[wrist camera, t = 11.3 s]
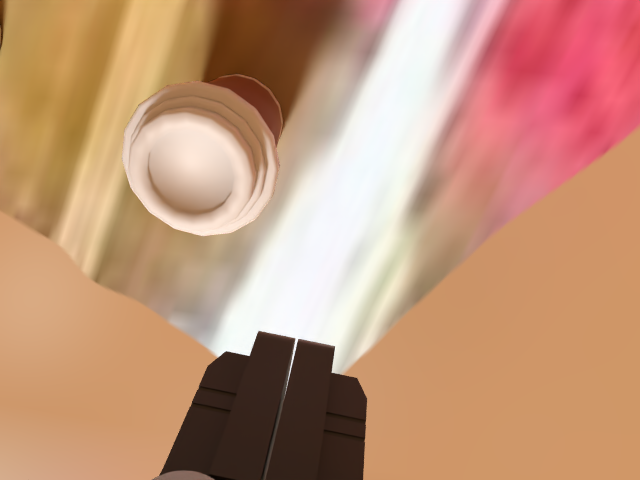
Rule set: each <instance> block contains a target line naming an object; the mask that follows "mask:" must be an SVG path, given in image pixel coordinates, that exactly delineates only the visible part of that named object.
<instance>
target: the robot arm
mask: <svg viewBox="0 0 640 480" xmlns="http://www.w3.org/2000/svg"><path fill="white" fill-rule="evenodd" d="M0 45H1V27H0ZM294 344H295V338H291V337H286V336H281V335H276V334H271V333H266V332H262V331H259V332H258V334H257V336H256V339H255V342H254V345H253V348H252V351H251V354H250V356H246V355H241V354H236V353H231V352H227V351H226V352H225V353H223V354H222V355H221V356H220V357H218V358H217V359H216V360H215V361H213V362H212V363H211V364H210V365H209V366H208V367H207V369H206V371H205V374H204V376H203V378H202V381H201V383H200V385H199V389H198V390H197V392H196V394H195V396H194V399H193V401H192V405H191V407H190V408H189V410H188V412H187V415H186V417H185V419H184V422H183V424H182V426H181V429H180V431H179V433H178V436H177V438H176V440H175V442H174V445H173V447H172V449H171V452H170V454H169V456H168V458H167V461H166V463H165V465H164V468H163V469H162V472H161V473H160V475H159V476H158V477H156V478H154V479H152V480H363V468H364V447H365V442H364V440H365V429H366V425H365V422H366V407H367V398H366V396H365V394H364V391H363V389H362V387H361V385H360V383H359V381H358V379H357V378H354V377H349V376H345V375H340V374H335V373H331V372H332V365H333V358H334V350H335V346H331V345H326V344H321V343H316V342H311V341H306V340H302V339H298V343H297V347H296V351H295V356H294V360H293V364H292V368H291V373H290V377H289V381H288V376H289V371H290V365H291V360H292V355H293V349H294ZM287 381H288V385H287ZM286 387H287V390H286ZM285 392H286V394H285Z"/></svg>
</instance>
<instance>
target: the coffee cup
mask: <svg viewBox="0 0 640 480" xmlns="http://www.w3.org/2000/svg"><path fill="white" fill-rule="evenodd" d="M282 125H283V118H282V113H281V108H280V104H279V102H278V101H277V99H276V98H275V96H274V94H273V93H272V91H271V90H270V89H269V88H268V87H267V86H265V85H264V84H262V83H261V82H260V81H258V80H257V79H256V78H252V77H249V76H245V75H241V74H233V75H226V76H221V77H219V78H217V79H215V80H212V81H210V82H207V83H204V82H201V81H193V82H187V83H180V84H174V85H167V86H166V87H164V88H162V89H161V90H160V91H158V92H157V93H155V94H154V95H152V96H151V97H149V98H148V99H146V100H145V101H143V102H142V103H140V104H139V105H138V107H137V109H136V110H135V112H134V114H133V116H132V117H131V119H130V121H129V123H128V124H127V126H126V128H125V131H124V142H123V153H122V161H123V164H124V167H125V171H126V174H127V177H128V180H129V183H130V187H131V189H132V190H133V191H134V193H135V194H136V195H137V197H138V198H139V199H140V201H141V202H142V203H143V204H144V206H145V207H146V208H147V210H148V211H149V212H150V213H152V214H153V215H155V216H156V217H158V218H159V219H161V220H162V221H164V222H165V223H167V224H168V225H170V226H171V227H173V228H174V229H178V230H182V231H186V232H189V233H193V234H197V235H201V236H206V235H215V234H224V233H232V232H234V231H235V230H237V229H239V228H241V227H243V226H244V225H246V224H248V223H250V222H252V221H254V220H255V219H256V218H257V217H258V215H259V214H260V213H261V211H262V210H263V209H264V207H265V206H266V205H267V203H268V202H269V201H270V199H271V198H272V196H273V194H274V190H275V186H276V181H277V176H278V172H279V167H280V164H279V159H278V154H277V149H276V147H277V144H278V141H279V139H280V135H281V130H282Z"/></svg>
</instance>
